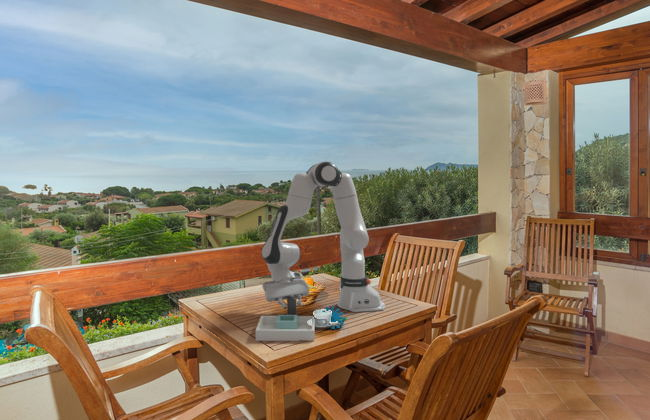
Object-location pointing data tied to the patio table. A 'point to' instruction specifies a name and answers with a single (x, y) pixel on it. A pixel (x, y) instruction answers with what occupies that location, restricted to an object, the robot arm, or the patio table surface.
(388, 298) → the patio table surface
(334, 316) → the gear
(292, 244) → the robot arm
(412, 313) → the patio table surface
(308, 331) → the walled box
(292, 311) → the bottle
